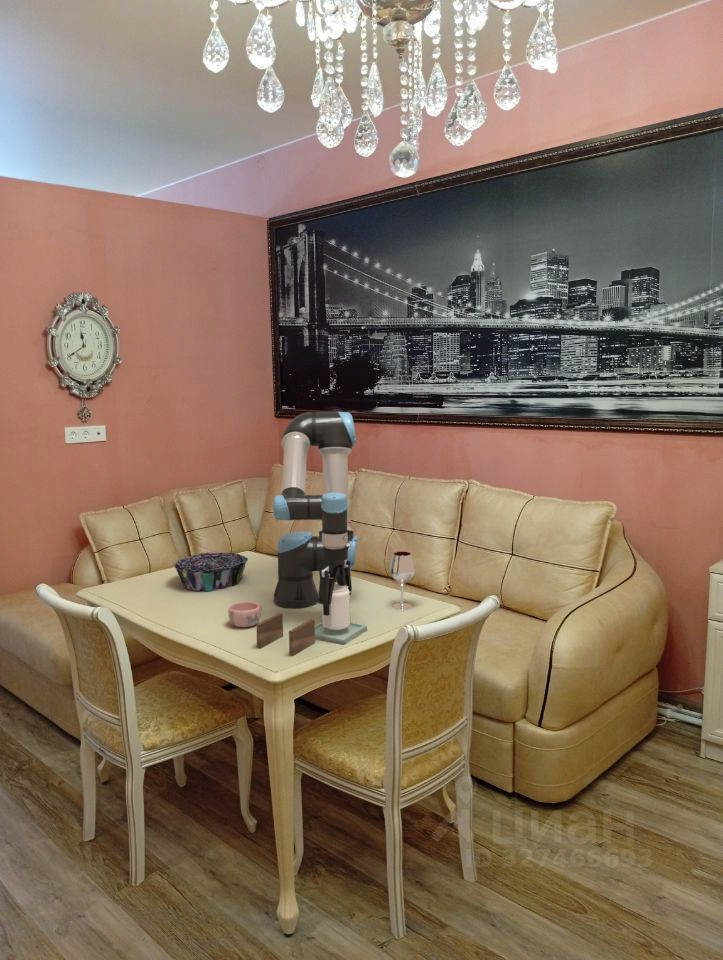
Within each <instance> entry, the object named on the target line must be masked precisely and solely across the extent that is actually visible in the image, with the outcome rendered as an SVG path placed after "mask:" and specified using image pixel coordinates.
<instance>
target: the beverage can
mask: <svg viewBox="0 0 723 960" xmlns="http://www.w3.org/2000/svg"><path fill="white" fill-rule="evenodd" d="M350 596H351V595H350V593H349V590H348V586H346V585H344V586H340V585H338V583H335V584H334V589H333V594H332V599H331V604H333V626H327V625H324V616H323V604H321V607H322V609H321V610H322V611H321V612H322V615H321V616H322V621H323V626H324V627H325V628H328V629H331V630H341V629H344V628H346V627H348V626H349V625H350V622H351V618H350V617H351V615H350V614H351V612H350V610H351V607H350V603H351V601H350V600H351V599H350Z"/></svg>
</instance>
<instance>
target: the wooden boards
mask: <svg viewBox="0 0 723 960" xmlns="http://www.w3.org/2000/svg"><path fill="white" fill-rule="evenodd" d="M283 615H284V613H281V612H278V613H276V614H274V615H271V616H270V617H268V618H266V619H264V620H262V621H260V622H258V623H257V624H255V625H256V648H257V649H260V650H261V649H262V648H265V647H266V646H268V645H270V644H272V643H274V642H275V641H277V640H278V639H281V638H283V637H284V619H283V618H284V616H283ZM315 625H316V624H315V619H314V618H313V619H312V618H311V619H308V620H307V621H304V622H303V623H301V624H299V625H297V626H295V627H294V628H292V629H290V630H289V631H288V645H289V646H288V647H289V649H288V650H289V656H292V657H294V656H296V655H297V654H299V653H301V652H302V651H304V650H306V649H307V648H309V647H310V646H312V645H314V644H315V643H316V639H315Z"/></svg>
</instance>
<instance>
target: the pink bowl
mask: <svg viewBox="0 0 723 960" xmlns="http://www.w3.org/2000/svg"><path fill="white" fill-rule="evenodd" d="M227 610H228V611H227V612H228V615H227V616H228V618H229V622H231V624H232V625H233V626H235V627H237V628H248V627H252V626H255V625H256V624H258V623H259V621H260V619H261V617H262V616H261V615H262V611H263V607H262V605H261V604H260V603H258V602H255V601H238V602H234V603H232V604H231V605H229V607H228V609H227Z"/></svg>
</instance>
